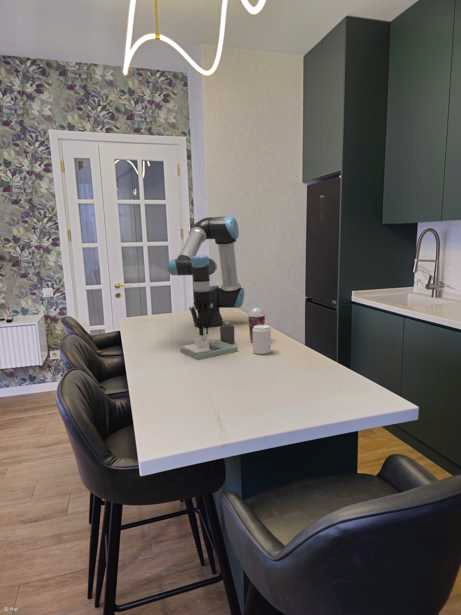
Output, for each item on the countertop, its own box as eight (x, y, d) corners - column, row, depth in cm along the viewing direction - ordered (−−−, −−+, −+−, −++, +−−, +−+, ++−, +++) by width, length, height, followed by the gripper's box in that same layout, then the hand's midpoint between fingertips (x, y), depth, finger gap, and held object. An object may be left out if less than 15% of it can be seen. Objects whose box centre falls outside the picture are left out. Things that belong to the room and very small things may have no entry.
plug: (228, 341, 201) (228, 320, 199) (234, 343, 197) (234, 321, 195) (220, 343, 198) (219, 321, 196) (226, 345, 194) (225, 323, 192)
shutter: (195, 345, 188) (195, 337, 187) (210, 351, 177) (210, 342, 177) (182, 347, 184) (182, 339, 183) (196, 354, 173) (196, 345, 173)
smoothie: (265, 339, 203) (265, 300, 199) (265, 343, 195) (264, 303, 191) (249, 339, 204) (248, 300, 200) (248, 344, 196) (247, 303, 192)
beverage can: (269, 355, 176) (269, 328, 174) (251, 354, 178) (251, 328, 176) (271, 350, 184) (271, 324, 182) (254, 349, 185) (253, 324, 183)
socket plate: (218, 344, 197) (218, 340, 197) (237, 351, 184) (237, 346, 184) (180, 352, 185) (180, 347, 185) (198, 360, 172) (197, 355, 172)
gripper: (209, 288, 185) (211, 338, 189) (184, 291, 178) (187, 342, 182) (218, 289, 179) (220, 341, 183) (193, 292, 172) (195, 346, 176)
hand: (204, 341), depth 182 cm, fingers closed
